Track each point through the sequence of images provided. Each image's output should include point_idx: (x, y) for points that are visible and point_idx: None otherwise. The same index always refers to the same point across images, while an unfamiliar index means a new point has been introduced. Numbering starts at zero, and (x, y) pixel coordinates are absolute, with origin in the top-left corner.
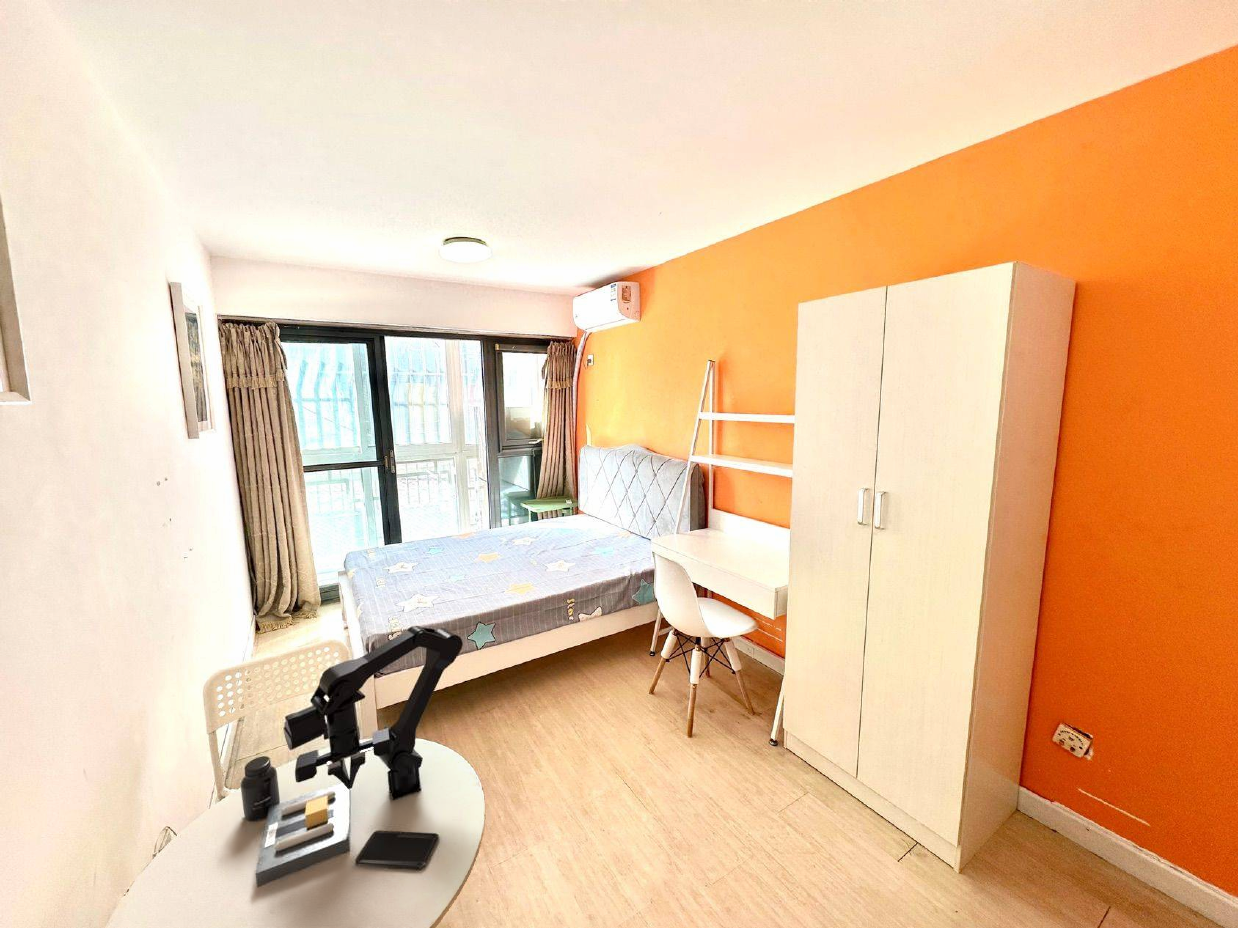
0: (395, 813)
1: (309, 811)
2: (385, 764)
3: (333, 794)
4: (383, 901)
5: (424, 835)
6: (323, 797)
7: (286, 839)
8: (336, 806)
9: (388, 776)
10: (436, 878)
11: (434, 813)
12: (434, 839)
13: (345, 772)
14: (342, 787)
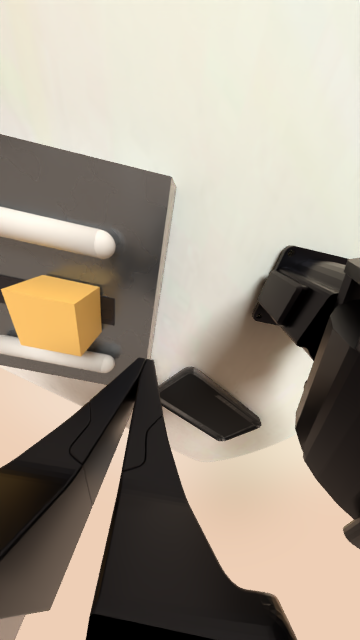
0: (237, 349)
1: (29, 337)
2: (301, 415)
3: (105, 256)
4: (172, 438)
5: (246, 415)
6: (61, 305)
7: (8, 352)
8: (121, 294)
9: (283, 318)
10: (225, 447)
11: (285, 388)
12: (252, 425)
13: (95, 484)
14: (142, 207)
